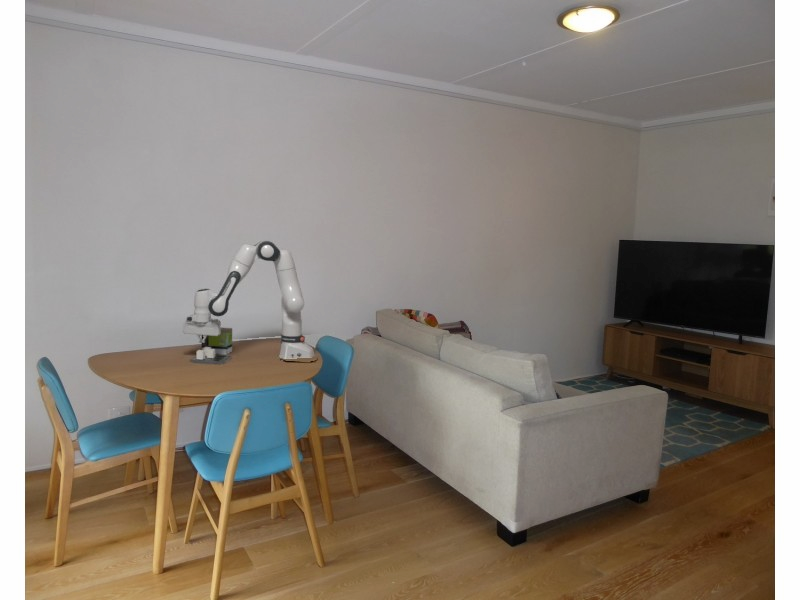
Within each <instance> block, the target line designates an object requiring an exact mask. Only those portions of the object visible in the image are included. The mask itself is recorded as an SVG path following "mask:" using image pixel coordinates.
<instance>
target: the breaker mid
mask: <svg viewBox="0 0 800 600" xmlns="http://www.w3.org/2000/svg"><path fill="white" fill-rule="evenodd" d="M215 355H216V354H215V349H208V350H207V358H214V357H215Z"/></svg>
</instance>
